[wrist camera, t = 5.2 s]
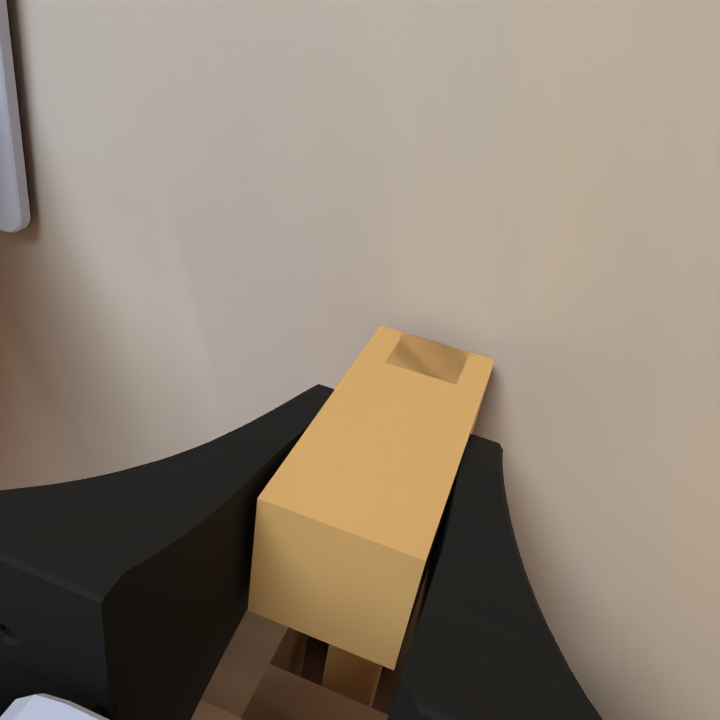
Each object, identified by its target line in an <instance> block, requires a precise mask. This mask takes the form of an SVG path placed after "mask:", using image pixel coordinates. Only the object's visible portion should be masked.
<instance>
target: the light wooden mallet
mask: <svg viewBox="0 0 720 720" xmlns="http://www.w3.org/2000/svg"><path fill="white" fill-rule="evenodd" d="M494 361H495V360H494V359H490V358H487V357H484V356H480V355H477V354H474V353H470V352H467V351H464V350H460V349H457V348H454V347H450V346H447V345H444V344H440V343H437V342H434V341H430V340H427V339H424V338H420V337H417V336H414V335H410V334H407V333H404V332H400V331H397V330H394V329H390V328H387V327H384V326H380V327H379V328H378V330H377V331H376V332H375V334H374V335H373V337H372V338H371V339H370V341H369V342H368V344H367V345H366V346H365V348H364V349H363V351H362V352H361V353H360V355H359V356H358V358H357V359H356V360H355V362H354V363H353V365H352V366H351V367H350V369H349V370H348V372H347V373H346V374H345V376H344V377H343V379H342V380H341V382H340V383H339V384H338V386H337V387H336V389H335V390H334V391H333V393H332V394H331V396H330V397H329V398H328V400H327V401H326V403H325V404H324V405H323V407H322V408H321V410H320V411H319V412H318V414H317V415H316V417H315V418H314V419H313V421H312V422H311V424H310V425H309V426H308V428H307V429H306V431H305V432H304V434H303V435H302V436H301V438H300V439H299V441H298V442H297V443H296V445H295V446H294V448H293V449H292V450H291V452H290V453H289V455H288V456H287V457H286V459H285V460H284V462H283V463H282V464H281V466H280V467H279V469H278V470H277V471H276V473H275V474H274V476H273V477H272V478H271V480H270V481H269V483H268V484H267V485H266V487H265V488H264V490H263V491H262V493H261V494H260V495H259V497H258V498H257V509H256V521H255V532H254V544H253V555H252V567H251V578H250V590H249V601H248V611H251V612H253V613H255V614H258V615H260V616H263V617H265V618H268V619H270V620H272V621H275V622H277V623H280V624H282V625H285V626H287V627H289V628H292V629H294V630H297V631H299V632H302V633H304V634H307V635H309V636H311V637H314V638H316V639H319V640H321V641H324V642H326V643H328V644H329V648H328V653H327V658H326V663H325V668H324V673H323V678H322V683H321V686H322V687H325V688H327V689H329V690H331V691H334V692H336V693H338V694H341V695H343V696H345V697H348V698H350V699H352V700H355V701H357V702H359V703H362V704H364V705H366V706H369V707H371V706H372V703H373V701H374V697H375V693H376V690H377V686H378V683H379V679H380V675H381V672H382V668H383V666H384V667H387V668H389V669H392V670H394V669H395V666H396V663H397V660H398V657H399V654H400V651H401V648H402V645H403V642H404V639H405V636H406V633H407V630H408V627H409V624H410V621H411V618H412V615H413V612H414V609H415V606H416V603H417V600H418V597H419V594H420V591H421V588H422V585H423V582H424V579H425V576H426V573H427V570H428V567H429V564H430V561H431V558H432V554H433V551H434V548H435V544H436V541H437V538H438V534H439V531H440V528H441V524H442V521H443V518H444V514H445V511H446V508H447V504H448V501H449V498H450V494H451V491H452V488H453V484H454V481H455V478H456V474H457V471H458V468H459V464H460V461H461V458H462V455H463V453H464V450H465V447H466V444H467V442H468V439H469V436H470V434H473V430H474V427H475V424H476V420H477V417H478V414H479V411H480V407H481V404H482V401H483V397H484V394H485V391H486V387H487V384H488V381H489V378H490V374H491V371H492V368H493V364H494Z"/></svg>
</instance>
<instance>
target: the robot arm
mask: <svg viewBox="0 0 720 720" xmlns="http://www.w3.org/2000/svg"><path fill="white" fill-rule="evenodd" d="M29 223H30V208H29V199H28V190H27V181H26V172H25V163H24V154H23V145H22V136H21V127H20V119H19V110H18V101H17V92H16V83H15V74H14V65H13V56H12V47H11V38H10V29H9V20H8V11H7V2H6V0H0V230H2V231H5V232H11V233H14V232H17V231H19V230H22V229H24V228H26V227H27V226H28V224H29ZM334 390H335V389H332V388H329V387H326V386H323V385H320V384H318V385H316V386H314V387H312V388H310V389H309V390H307V391H305V392H303V393H302V394H300V395H298V396H296V397H295V398H293V399H291V400H290V401H288V402H286V403H284V404H283V405H281V406H279V407H277V408H276V409H274V410H272V411H270V412H268V413H266V414H265V415H263V416H261V417H259V418H257V419H255V420H253V421H252V422H250V423H248V424H246V425H244V426H242V427H240V428H238V429H236V430H234V431H232V432H229V433H227V434H225V435H223V436H221V437H219V438H217V439H215V440H212V441H210V442H208V443H206V444H203V445H201V446H198V447H196V448H193V449H190V450H188V451H185V452H182V453H179V454H177V455H174V456H171V457H168V458H165V459H162V460H159V461H155V462H151V463H148V464H144V465H141V466H137V467H134V468H130V469H126V470H123V471H119V472H115V473H111V474H106V475H102V476H97V477H92V478H87V479H82V480H76V481H71V482H65V483H58V484H52V485H44V486H35V487H27V488H19V489H10V490H0V720H191V718H192V716H193V714H194V712H195V710H196V708H197V706H198V704H199V702H200V700H201V698H202V696H203V694H204V692H205V690H206V688H207V686H208V684H209V682H210V680H211V678H212V676H213V674H214V672H215V670H216V668H217V666H218V664H219V662H220V660H221V658H222V656H223V654H224V652H225V650H226V648H227V647H228V645H229V643H230V641H231V639H232V637H233V635H234V633H235V631H236V630H237V628H238V626H239V624H240V622H241V620H242V618H243V616H244V614H245V613H246V611H247V609H248V601H249V590H250V578H251V567H252V555H253V544H254V532H255V521H256V509H257V498H258V497H259V495H260V494H261V493H262V491H263V490H264V488H265V487H266V485H267V484H268V483H269V481H270V480H271V478H272V477H273V476H274V474H275V473H276V471H277V470H278V469H279V467H280V466H281V464H282V463H283V462H284V460H285V459H286V457H287V456H288V455H289V453H290V452H291V450H292V449H293V448H294V446H295V445H296V443H297V442H298V441H299V439H300V438H301V436H302V435H303V434H304V432H305V431H306V429H307V428H308V426H309V425H310V424H311V422H312V421H313V419H314V418H315V417H316V415H317V414H318V412H319V411H320V410H321V408H322V407H323V405H324V404H325V403H326V401H327V400H328V398H329V397H330V396H331V394H332V393H333V391H334ZM502 454H503V449H502V447H501V446H500V444H499V443H497V442H494V441H491V440H488V439H484V438H481V437H478V436H475V435H472V434H470V436H469V439H468V442H467V444H466V447H465V450H464V453H463V455H462V458H461V461H460V464H459V468H458V471H457V474H456V478H455V481H454V484H453V488H452V491H451V494H450V498H449V501H448V504H447V508H446V511H445V514H444V518H443V521H442V524H441V528H440V531H439V534H438V538H437V541H436V544H435V548H434V551H433V554H432V558H431V561H430V564H429V567H428V572H427V576H426V581H425V585H424V590H423V595H422V599H421V604H420V608H419V613H418V617H417V622H416V627H415V631H414V636H413V640H412V644H411V647H410V650H409V653H408V656H407V659H406V662H405V665H404V668H403V671H402V674H401V677H400V680H399V683H398V686H397V690H396V693H395V696H394V699H393V703H392V706H391V709H390V712H389V716H388V719H387V720H602V718H601V717H600V715H599V714H598V712H597V711H596V710H595V708H594V707H593V705H592V704H591V702H590V701H589V699H588V698H587V696H586V695H585V693H584V691H583V690H582V688H581V686H580V685H579V683H578V681H577V680H576V678H575V676H574V675H573V673H572V671H571V670H570V668H569V666H568V664H567V662H566V660H565V658H564V656H563V654H562V652H561V650H560V648H559V647H558V645H557V643H556V641H555V639H554V637H553V635H552V633H551V631H550V629H549V627H548V625H547V623H546V621H545V619H544V616H543V614H542V612H541V610H540V607H539V605H538V603H537V600H536V598H535V596H534V593H533V590H532V588H531V585H530V583H529V580H528V577H527V574H526V572H525V569H524V566H523V563H522V560H521V556H520V553H519V550H518V546H517V543H516V539H515V536H514V532H513V528H512V524H511V519H510V514H509V509H508V504H507V499H506V493H505V486H504V479H503V466H502Z"/></svg>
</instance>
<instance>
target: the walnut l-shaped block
mask: <svg viewBox="0 0 720 720" xmlns="http://www.w3.org/2000/svg"><path fill="white" fill-rule="evenodd" d="M307 640H308V635H307V634H304V633H302V632H299V631H297V630H294V629H292V628H289V627H287V626H285V625H282V624H280V623H277V622H275V621H272V620H270V619H268V618H265V617H263V616H260V615H258V614H255V613H253V612H251V611H248V609H247V611H246V613H245V614H244V616H243V618H242V620H241V622H240V624H239V626H238V628H237V630H236V631H235V633H234V635H233V637H232V639H231V641H230V643H229V645H228V647H227V648H226V650H225V652H224V654H223V656H222V658H221V660H220V662H219V664H218V666H217V668H216V670H215V672H214V674H213V676H212V678H211V680H210V682H209V684H208V686H207V688H206V690H205V692H204V694H203V696H202V698H201V700H200V702H199V704H198V706H197V708H196V710H195V712H194V714H193V716H192V718H191V720H387V719H388V716H389V715H387V714H385V713H383V712H380V711H378V710H376V709H373V708H371V707H369V706H366V705H364V704H362V703H359V702H357V701H355V700H352V699H350V698H348V697H345V696H343V695H341V694H338V693H336V692H334V691H331V690H329V689H327V688H325V687H322V686H320V685H318V684H315V683H313V682H311V681H308V680H306V679H304V678H301V673H302V668H303V662H304V657H305V651H306V646H307Z"/></svg>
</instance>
